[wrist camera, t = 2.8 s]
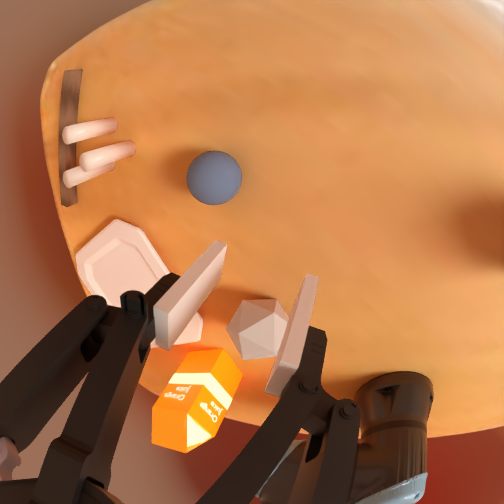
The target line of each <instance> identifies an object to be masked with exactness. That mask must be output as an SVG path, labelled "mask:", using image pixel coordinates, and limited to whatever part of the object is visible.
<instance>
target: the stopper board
mask: <svg viewBox="0 0 504 504" xmlns="http://www.w3.org/2000/svg"><path fill="white" fill-rule="evenodd" d="M81 75H82V69H78V70H66V71H64V75H63V83H62V92H61V103H60V118H59V178H60V193H61V204H62V205H64V206H66V207H69V206H71V205H73V204H75V203H77V189H76V185H75V186H73V187H71V188H67V187H66V186H65V184H64V182H63V173H64V172H65V171H67V170H69V169H72V168H75V167H76V142H75V143H71V144H65V143H64V141H63V138H62V132H63V129H64V128H65V127H66V126H70V125H74V124H77V112H78V100H79V91H80V83H81Z"/></svg>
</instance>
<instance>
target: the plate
mask: <svg viewBox="0 0 504 504" xmlns="http://www.w3.org/2000/svg"><path fill="white" fill-rule="evenodd" d="M76 263H77V269H78V274H79V276H80V278H81V279H82V281H83V282H84V284H85V285H86V287H87V288H88V290H89V291H90V293H91V294H92V295H100V296H102V297H104V298H105V299H106V302H107V305H111V306H115V307H121V302H120V296H121V295H122V294H123V293H124V292H126V291H130V290H136V291H140V292H142V293H143V294H144V295H145V294H146V293H147V292H148V291H149V290H150V289H151V288H152V287H153V286H154V285H155V284H156V283H157V282H158V281H159V280H160V279H161V278H162V277H163V276H164V275H167V274H169V273H170V272H169V270H168V269H167V267H166V266H165V264H164V263H163V261H162V260H161V258H160V257H159V255H158V253H157V252H156V250H155V249H154V247H153V246H152V244H151V243H150V241H149V239H148V238H147V236H146V235H145V233H144V231H142V230H141V229H140V228H138V227H136V226H134V225H131V224H129V223H127V222H124V221H122V220H120V219H114V220H113V221H112V222H111V223H110V224H108V225H107V226H106V227H105V228H104V229H103V230H101V231H100V232H99V233H98V234H97V235H96V236H95V237H93V238H92V239H91V240H90V241H89V242H88V243H87V244H86V245H85V246H84V247H82V248H81V249H80V250H79V251H78V252H77V253H76ZM202 327H203V319H202V317H201V316H200V314H199V313H198V312H196V314H195V315H194V317H193V318H192V319H191V321H190V322H189V324H188V325H187V326H186V328H185V329H184V330H183V332H182V333H181V335H180V336H179V337H178V339H177V340H176V342H175V343H174V344H173V345H177V344H183V343H190V342H196V341H199V340H200V339H201V333H202ZM150 345H151V347H150V348H156V347H159V346H157V345H155V339H154V340H153V341H152V342H151V344H150Z"/></svg>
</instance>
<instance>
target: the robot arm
mask: <svg viewBox="0 0 504 504" xmlns="http://www.w3.org/2000/svg"><path fill="white" fill-rule="evenodd" d="M226 248H227V244H226V243H223V242H220V241H218V240H215V241H214V242H213V243H212V244H211V245H210V246H209V247H208V248H207V249H206V250H205V251H204V253H203V254H202V255H201V256H200V257H199V258H198V259H197V260H196V261H195V262H194V263H193V264H192V265H191V266H190V267H189V268H188V269H187V271H186V272H185V273H184V274H183V275H182V276H178V275H176V274H174V273H169V274H167V275H164V276H163V277H162V278H161V279H160V280H159V281H158V282H157V283H156V284H155V285H154V286H153V287H152V288H151V289H150V290H149V291H148V292H147V293H146V294H145V295H144V294H143V293H142V292H140V291H136V290H130V291H126V292H124V293H123V294H122V295H121V296H120V302H121V307H115V306H111V305H107V302H106V299H105V298H104V297H102V296H100V295H91V296H88V297H87V298H85V299H84V300H83V301H82V302H81V303H80V304H78V306H76V307H75V308H74V309H73V310H72V311H71V312H70V313H69V314H68V315H66V317H64V318H63V319H62V320H61V321H60V322H59V323H58V324H57V325H56V326H55V327H54V328H53V329H52V330H51V331H50V332H49V333H48V334H47V335H46V336H45V337H44V338H43V339H42V340H41V341H40V342H39V343H38V344H37V345H36V346H35V347H34V348H33V349H32V350H31V351H30V352H29V353H28V354H27V355H26V356H25V357H24V358H23V359H22V360H21V361H20V362H19V363H18V364H17V365H16V366H15V367H14V369H13V370H12V371H11V372H10V373H9V374H8V375H7V376H6V377H5V379H4V380H3V381H2V382H1V383H0V504H124V503H122V502H121V501H120V500H119V499H118V498H117V497H115V496H114V495H112V494H111V493H109V492H108V491H107V490H108V486H109V482H110V478H111V463H112V459H113V456H114V453H115V450H116V446H117V443H118V440H119V436H120V434H121V431H122V427H123V424H124V421H125V418H126V415H127V412H128V410H129V407H130V404H131V401H132V398H133V395H134V392H135V389H136V387H137V384H138V381H139V378H140V376H141V373H142V370H143V368H144V365H145V362H146V360H147V357H148V354H149V352H150V347H151V345H150V344H151V342H152V341H153V340H154V339H155V345H157V346H159V347H161V348H163V349H165V350H167V351H169V350H170V349H171V347H172V346H173V344H174V343H175V342H176V340H177V339H178V337H179V336H180V335H181V333H182V332H183V330H184V329H185V328H186V326H187V325H188V324H189V322H190V321H191V319H192V318H193V317H194V315H195V314H196V312H197V311H198V310H199V308H200V307H201V306H202V304H203V303H204V301H205V300H206V299H207V297H208V296H209V295H210V293H211V292H212V290H213V289H214V288H215V286H216V285H217V284H218V282H219V281H220V279H221V274H222V269H223V264H224V258H225V253H226ZM318 281H319V277H317V276H314V275H311V274H309V273H307V274H306V276H305V279H304V281H303V284H302V286H301V288H300V291H299V293H298V296H297V298H296V300H295V303H294V305H293V308H292V311H291V314H290V317H289V320H288V323H287V326H286V330H285V333H284V336H283V339H282V342H281V345H280V348H279V351H278V353H277V356H276V359H275V362H274V365H273V368H272V371H271V374H270V376H269V379H268V382H267V385H266V387H265V390H264V392H265V393H268V394H271V395H274V396H277V397H280V395H281V397H280V400H279V402H278V403H277V405H276V406H275V408H274V409H273V410H272V412H271V413H270V414H269V416H268V417H267V419H266V420H265V421H264V423H263V424H262V425H261V427H260V428H259V429H258V431H257V432H256V433H255V435H254V436H253V437H252V439H251V440H250V441H249V442H248V444H247V445H246V446H245V448H244V449H243V450H242V451H241V453H240V454H239V455H238V456H237V458H236V459H235V460H234V461H233V462H232V464H231V465H230V466H229V467H228V468H227V469H226V471H225V472H224V473H223V474H222V475H221V476H220V478H219V479H218V480H217V481H216V482H215V483H214V484H213V485H212V486H211V488H210V489H209V490H208V491H207V492H206V493H205V494H204V495H203V496H202V497H201V498H200V499H199V501H198V502H197V503H196V504H249V503H250V501H251V500H252V499H253V498H254V497H255V496H256V497H257V498H261V501H260V504H414V503H416V502H417V501H418V500H419V499H421V497H422V496H423V494H424V491H425V483H426V477H427V426H426V425H427V421H428V417H429V414H430V410H431V405H432V402H433V397H434V394H433V385H432V382H431V381H430V379H428V378H427V377H426V376H424V375H422V374H418V373H413V372H397V373H391V374H387V375H383V376H380V377H377V378H375V379H373V380H371V381H369V382H367V383H366V384H365V385H363V386H362V387H361V388H360V389H359V391H358V392H357V394H356V399H355V402H354V401H352V400H350V399H341V400H339V401H338V400H336V399H335V398H333V397H332V396H330V395H329V394H327V393H326V392H325V390H324V389H323V387H322V385H321V373H322V368H323V362H324V357H325V351H326V345H327V337H326V334H325V331H323V330H320V329H317V328H314V327H311V326H309V323H310V318H311V314H312V309H313V305H314V300H315V295H316V291H317V286H318ZM88 372H89V373H88ZM87 373H88V375H87V377H86V379H85V381H84V383H83V385H82V387H81V390H80V392H79V394H78V396H77V398H76V401H75V403H74V406H73V408H72V410H71V412H70V415H69V417H68V419H67V422H66V424H65V427H64V430H63V432H62V434H61V436H60V437H58V438H56V439H54V440H53V441H52V442H51V444H50V446H49V448H48V451H47V454H46V456H45V459H44V462H43V465H42V468H41V471H40V474H39V477H38V478H31V479H21V480H12V472H13V469H14V468H15V467H16V466H19V465H20V464H21V458H20V456H19V454H18V453H20V452H21V451H23V450H24V449H25V448H26V447H28V446H29V445H30V443H32V441H33V440H34V439H35V438H36V436H37V435H38V434H39V432H40V431H41V430H42V429H43V427H44V426H45V425H46V424H47V422H48V421H49V420H50V418H51V417H52V416H53V414H54V413H55V412H56V411H57V410H58V408H59V407H60V406H61V405H62V403H63V402H64V401H65V399H66V398H67V397H68V396H69V395H70V393H71V392H72V391H73V390H74V388H75V387H76V386H77V385H78V384H79V382H80V381H81V380H82V379H83V378H84V376H85V375H86V374H87ZM301 428H303V429H304V430H306V431H307V432H309V435H308V439H307V440H294V439H295V437H296V436H297V434H298V432H299V431H300V429H301ZM359 428H360V429H361V441H360V443H357V442H358V436H359Z"/></svg>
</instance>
